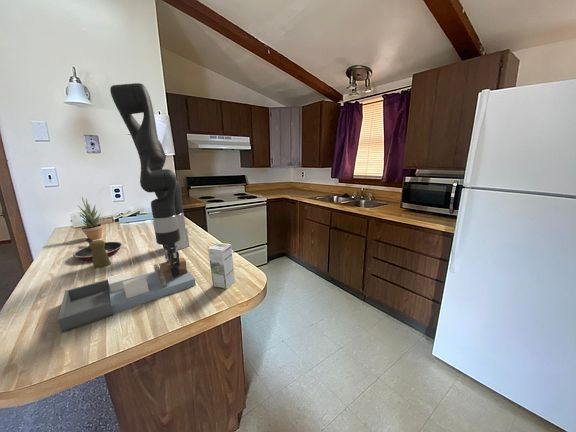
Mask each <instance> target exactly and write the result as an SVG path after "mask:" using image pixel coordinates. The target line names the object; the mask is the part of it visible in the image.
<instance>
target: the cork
mask: <svg viewBox="0 0 576 432" xmlns="http://www.w3.org/2000/svg"><path fill="white" fill-rule="evenodd" d="M88 246H89V247H90V249H92V255H93V260H92V266H93V269H101V268H105V267H108V266H110V265H111V264H112V262H111V260H110V258H109V257H110V256H109V257H108V255H107V253H106V250H105V248H104V247H105V241H104V240H103V239H96V240H93V242H91V243H90V244H89V243H88Z"/></svg>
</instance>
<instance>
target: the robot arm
mask: <svg viewBox="0 0 576 432" xmlns="http://www.w3.org/2000/svg"><path fill="white" fill-rule="evenodd" d="M110 95H111V98H112V102H113V103H114V104H115V107H116V108H117V111H118V112H119V115H120V117H121V118H122V120H123V122H124V124H125V127H126V128H127V129H128V131H129V134H130V136H131V139H132V141H133V143H134V146H135V148H136V151H137V154H138V158H139V162H140V176H139V183H140V187H141V188H142V190H144V192H146V193H154V194H155V196H156V198H155V199H152V200H151V202H150V208H151V213H152V222H153V223H152V224H153V229H154V235H155V240H156V244H157V245H161V246H162V251H164V252H163V253H164V258H165V259H166V261H165V262H168V261H169V262H170V267H171V271H172V276H173V277H176V276H179V269H178V266H180V263H179V258H180V253H179V250H182V249H185V248H187V247H189V246H190V240H189V233H188V227H186V221H185V220H186V219H185V214H184V207H183V195H182V188H181V187H182V186H181V184H180V182H179V181H178V180H177V176H176V173H175V172H174V171H173V170H171V169H164V166H165V163H166V157H167V156H166V152H165V150H164V148H163V146H162V143H161V140H159V137H158V130H157V125H156V124H157V123H156V118H155V112H154V107H153V103H152V100H151V96H150V94H149V92H148V89H147V87H146V86H145V84H143V83H136V82H135V83H125V84H123V83H122V84H115V85H111V86H110ZM135 114H143V119H142V120H141V121H142V122H141V124H140V123H139V122H138V121H137V119H135V117H134V115H135ZM174 262H176V263H174ZM173 263H174V264H173Z"/></svg>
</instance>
